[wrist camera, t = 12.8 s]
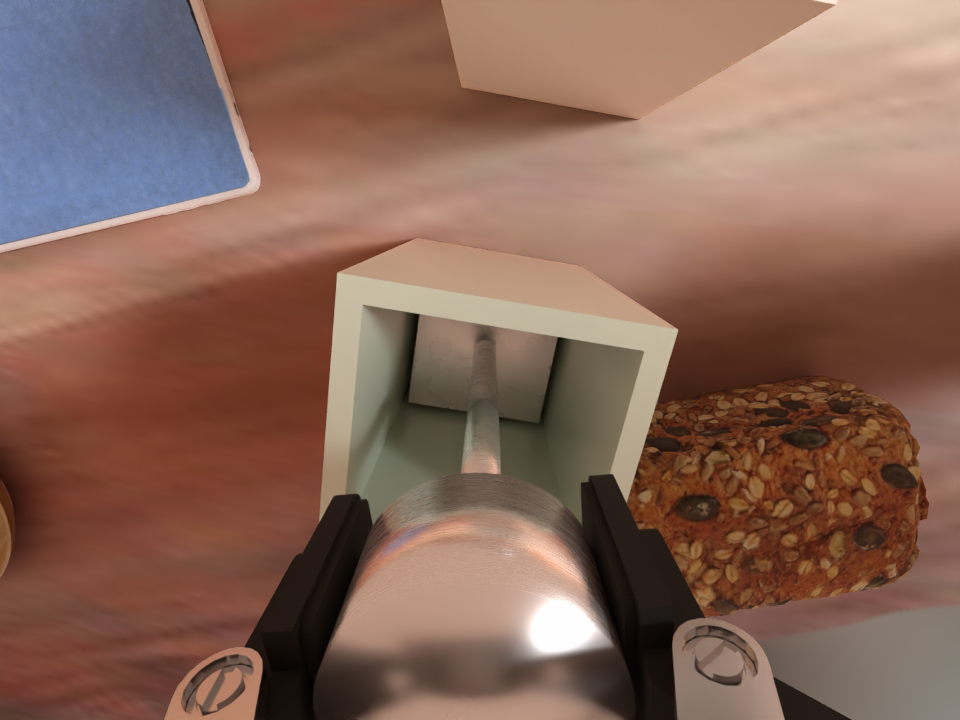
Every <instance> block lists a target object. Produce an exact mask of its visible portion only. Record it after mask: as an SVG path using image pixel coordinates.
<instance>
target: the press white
mask: <svg viewBox="0 0 960 720" xmlns="http://www.w3.org/2000/svg"><path fill="white" fill-rule="evenodd" d="M441 2H442V6H443V10H444V15H445V19H446V23H447V28H448V32H449V36H450V41H451V45H452V49H453V53H454V58H455V62H456V66H457V71H458V75H459V79H460V83H461V87H462V88H468V89H473V90H479V91H485V92H490V93H496V94H501V95H507V96H512V97H518V98H523V99H529V100H534V101H540V102H545V103H551V104H556V105H562V106H567V107H573V108H579V109H584V110H590V111H595V112H601V113H606V114H612V115H617V116H623V117H628V118H634V119H640V118H642V117H644V116H646V115H647V114H649V113H651V112H652V111H654V110H656V109H658V108H659V107H661V106H663V105H664V104H666V103H668V102H670V101H671V100H673V99H675V98H677V97H678V96H680V95H682V94H683V93H685V92H687V91H689V90H690V89H692V88H694V87H695V86H697V85H699V84H701V83H702V82H704V81H706V80H707V79H709V78H711V77H713V76H714V75H716V74H718V73H719V72H721V71H723V70H725V69H726V68H728V67H730V66H732V65H733V64H735V63H737V62H738V61H740V60H742V59H744V58H745V57H747V56H749V55H750V54H752V53H754V52H756V51H757V50H759V49H761V48H762V47H764V46H766V45H768V44H769V43H771V42H773V41H774V40H776V39H778V38H780V37H781V36H783V35H785V34H787V33H788V32H790V31H792V30H793V29H795V28H797V27H799V26H800V25H802V24H804V23H805V22H807V21H809V20H811V19H812V18H814V17H816V16H817V15H819V14H821V13H823V12H824V11H826V10H828V9H829V8H831V7H833V6H835V5H836V3H837V0H441Z"/></svg>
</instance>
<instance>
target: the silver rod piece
mask: <svg viewBox="0 0 960 720" xmlns="http://www.w3.org/2000/svg"><path fill="white" fill-rule="evenodd" d="M557 338H558V337H556V336H550V335H544V334H538V333H532V332H526V331H519V330H513V329H507V328H501V327H495V326H489V325H483V324H477V323H471V322H465V321H459V320H453V319H447V318H441V317H435V316H429V315H422V314H420V315H419V323H418V331H417V339H416V346H415V354H414V362H413V370H412V377H411V385H410V393H409V401H408V402H410V403H416V404H422V405H429V406H435V407H441V408H448V409H454V410H460V411H466V412H467V419H466V428H465V437H464V447H463V456H462V465H461V474H454V475H448V476H444V477H440V478H436V479H433V480H430V481H428V482H425V483H423V484H420V485H418V486H416V487H414V488H413V489H411V490H409V491H407V492H405V493H404V494H403V495H401V496H400V497H399V498H397V499H396V500H394V501H393V502H392V503H391V504H390V505H389V506H388V507H387V508H386V509H385V510H384V511H383V512H382V514H381V515H380V516H379V518H378V519H377V520H376V521H375V523H374V525H373V527H372V529H371V530H370V532H369V534H368V537H367V540H366V543H365V545H364V548H363V551H362V553H361V556H360V559H359V562H358V564H357V567H356V570H355V572H354V575H353V578H352V581H351V583H350V586H349V589H348V591H347V594H346V597H345V600H344V602H343V605H342V608H341V610H340V613H339V616H338V619H337V621H336V624H335V627H334V630H333V632H332V635H331V638H330V640H329V643H328V646H327V649H326V651H325V654H324V657H323V659H322V662H321V665H320V668H319V670H318V673H317V676H316V679H315V685H314V691H313V710H314V716H315V720H635V711H636V703H635V693H634V688H633V684H632V681H631V677H630V674H629V670H628V667H627V664H626V661H625V657H624V654H623V651H622V647H621V644H620V641H619V637H618V634H617V631H616V627H615V624H614V621H613V617H612V614H611V611H610V607H609V604H608V601H607V597H606V594H605V591H604V587H603V584H602V581H601V577H600V574H599V571H598V567H597V564H596V561H595V557H594V554H593V551H592V547H591V544H590V541H589V539H588V537H587V535H586V532H585V530H584V529H583V527H582V525H581V524H580V522H579V521H578V519H577V518H576V517H575V516H574V515H573V513H572V512H571V511H570V510H569V509H568V508H567V507H566V506H565V505H564V504H563V503H561V502H560V501H559V500H558V499H557V498H555V497H554V496H552V495H551V494H549V493H548V492H546V491H545V490H543V489H541V488H539V487H537V486H535V485H533V484H531V483H528V482H525V481H522V480H520V479H517V478H514V477H509V476H504V475H501V458H500V436H499V417H504V418H511V419H517V420H523V421H529V422H536V423H539V420H540V415H541V411H542V406H543V402H544V397H545V393H546V388H547V384H548V379H549V374H550V370H551V365H552V361H553V356H554V352H555V347H556V343H557Z"/></svg>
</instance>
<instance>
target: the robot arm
mask: <svg viewBox="0 0 960 720" xmlns="http://www.w3.org/2000/svg"><path fill="white" fill-rule="evenodd" d="M581 511H582V527H583V529H584V530H585V532H586V535H587V537H588V539H589V541H590V544H591V547H592V551H593V554H594V557H595V561H596V564H597V567H598V571H599V574H600V577H601V581H602V584H603V587H604V591H605V594H606V597H607V601H608V604H609V607H610V611H611V614H612V617H613V621H614V624H615V627H616V631H617V634H618V637H619V641H620V644H621V647H622V651H623V654H624V657H625V661H626V664H627V667H628V670H629V674H630V677H631V681H632V684H633V688H634V693H635V703H636V711H635V720H851V719H849V718H847V717H846V716H844V715H842V714H840V713H838V712H836V711H835V710H833V709H831V708H829V707H827V706H826V705H824V704H822V703H820V702H818V701H817V700H815V699H813V698H811V697H809V696H807V695H806V694H804V693H802V692H800V691H798V690H796V689H794V688H793V687H791V686H789V685H787V684H786V683H784V682H782V681H780V680H778V679H777V678H775V677H773V676H772V672H771V669H770V665H769V662H768V659H767V657H766V655H765V653H764V651H763V649H762V648H761V647H760V646H759V644H758V643H757V642H756V641H755V640H754V639H753V638H752V637H751V636H750V635H748V634H747V633H746V632H744V631H743V630H742V629H740V628H738V627H736V626H734V625H732V624H730V623H728V622H724V621H720V620H717V619H711V618H705V616H704V614H703V612H702V610H701V609H700V607H699V605H698V603H697V601H696V599H695V597H694V595H693V593H692V591H691V590H690V588H689V586H688V584H687V582H686V580H685V578H684V576H683V574H682V572H681V571H680V569H679V567H678V565H677V563H676V561H675V559H674V557H673V555H672V553H671V551H670V550H669V548H668V546H667V544H666V542H665V540H664V538H663V536H662V534H661V533H660V531H659V530H658V529H656V528H651V529H638V527H637V525H636V522H635V520H634V518H633V516H632V514H631V512H630V509H629V507H628V505H627V503H626V501H625V499H624V497H623V494H622V492H621V490H620V488H619V486H618V484H617V481H616V479H615V477H614V475H613V474H604V475H591V476H589V478H588V482H581ZM372 527H373V523H372V518H371V513H370V508H369V503H368V501H367V499H361V497H360V495H359V494H345V495H335V496H334V497H333V498H332V500H331V502H330V503H329V505H328V507H327V509H326V511H325V513H324V515H323V517H322V518H321V520H320V522H319V524H318V526H317V528H316V530H315V531H314V533H313V535H312V537H311V539H310V541H309V543H308V545H307V546H306V548H305V550H304V552H303V553H302V554H298V555H296V556H295V558H294V559H293V561H292V562H291V564H290V566H289V568H288V570H287V571H286V573H285V575H284V577H283V579H282V580H281V582H280V584H279V586H278V588H277V589H276V591H275V593H274V595H273V597H272V598H271V600H270V602H269V604H268V606H267V607H266V609H265V611H264V613H263V615H262V616H261V618H260V620H259V622H258V624H257V626H256V627H255V629H254V631H253V633H252V635H251V636H250V638H249V640H248V642H247V644H246V645H245V647H237V648H231V649H226V650H224V651H221V652H219V653H216V654H214V655H212V656H211V657H209V658H207V659H206V660H204V661H202V662H201V663H200V664H198V665H197V666H196V667H195V668H194V669H193V670H191V671H190V672H189V673H188V674H187V675H186V677H185V678H184V679H183V680H182V681H181V683H180V684H179V685H178V687H177V689H176V691H175V693H174V695H173V697H172V700H171V703H170V705H169V708H168V711H167V714H166V717H165V719H164V720H315V716H314V710H313V691H314V685H315V679H316V676H317V673H318V670H319V668H320V665H321V662H322V659H323V657H324V654H325V651H326V649H327V646H328V643H329V640H330V638H331V635H332V632H333V630H334V627H335V624H336V621H337V619H338V616H339V613H340V610H341V608H342V605H343V602H344V600H345V597H346V594H347V591H348V589H349V586H350V583H351V581H352V578H353V575H354V572H355V570H356V567H357V564H358V562H359V559H360V556H361V553H362V551H363V548H364V545H365V543H366V540H367V537H368V534H369V532H370V530H371V529H372Z"/></svg>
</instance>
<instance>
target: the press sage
mask: <svg viewBox="0 0 960 720" xmlns="http://www.w3.org/2000/svg"><path fill="white" fill-rule="evenodd" d="M420 314H422V315H429V316H435V317H441V318H447V319H453V320H459V321H465V322H471V323H477V324H483V325H489V326H495V327H501V328H507V329H513V330H519V331H526V332H532V333H538V334H544V335H550V336H556V337H558V338H557V343H556V347H555V352H554V356H553V361H552V365H551V370H550V374H549V379H548V384H547V388H546V393H545V397H544V402H543V406H542V411H541V415H540V420H539V423H536V422H529V421H523V420H517V419H511V418H504V417H499V436H500V458H501V475H504V476H509V477H514V478H517V479H520V480H522V481H525V482H528V483H531V484H533V485H535V486H537V487H539V488H541V489H543V490H545V491H546V492H548V493H549V494H551V495H552V496H554V497H555V498H557V499H558V500H559V501H560V502H561V503H563V504H564V505H565V506H566V507H567V508H568V509H569V510H570V511H571V512H572V513H573V515H574V516H575V517H576V518H577V519H578V521H579V522H580V524H581V525H582V511H581V482H588V478H589V476H591V475H604V474H613V475H614V477H615V479H616V481H617V484H618V486H619V488H620V490H621V492H622V494H623V497H624V499H625V501H626V503H627V500H628V496H629V493H630V490H631V486H632V483H633V480H634V476H635V473H636V470H637V466H638V463H639V460H640V456H641V453H642V450H643V446H644V443H645V440H646V436H647V433H648V430H649V426H650V423H651V420H652V416H653V413H654V410H655V406H656V403H657V400H658V396H659V393H660V390H661V386H662V383H663V380H664V376H665V373H666V370H667V366H668V363H669V360H670V356H671V353H672V350H673V346H674V343H675V340H676V336H677V333H678V329H677V328H675V327H674V326H672V325H671V324H669V323H668V322H666V321H664V320H663V319H661V318H660V317H658V316H657V315H655V314H654V313H652V312H651V311H649V310H648V309H646V308H644V307H643V306H641V305H640V304H638V303H637V302H635V301H634V300H632V299H631V298H629V297H628V296H626V295H624V294H623V293H621V292H620V291H618V290H617V289H615V288H614V287H612V286H611V285H609V284H608V283H606V282H605V281H603V280H601V279H600V278H598V277H597V276H595V275H594V274H592V273H591V272H589V271H588V270H586V269H585V268H583V267H581V266H580V265H574V264H568V263H562V262H556V261H550V260H544V259H538V258H533V257H527V256H521V255H515V254H509V253H503V252H497V251H491V250H486V249H480V248H474V247H468V246H462V245H456V244H450V243H444V242H438V241H433V240H427V239H421V238H416V239H413V240H411V241H409V242H407V243H404V244H402V245H400V246H397V247H395V248H393V249H391V250H388V251H386V252H384V253H381V254H379V255H377V256H374V257H372V258H370V259H368V260H365V261H363V262H361V263H358V264H356V265H354V266H352V267H349V268H347V269H345V270H342V271H340V272H338V273H337V283H336V297H335V310H334V324H333V338H332V351H331V365H330V379H329V392H328V406H327V420H326V433H325V447H324V461H323V474H322V488H321V501H320V515H319V522H320V520H321V518H322V517H323V515H324V513H325V511H326V509H327V507H328V505H329V503H330V502H331V500H332V498H333V497H334V496H335V495H345V494H359V495H360V497H361V499H367V501H368V503H369V508H370V513H371V518H372V523H373V525H374V523H375V521H376V520H377V519H378V518H379V516H380V515H381V514H382V512H383V511H384V510H385V509H386V508H387V507H388V506H389V505H390V504H391V503H392V502H393V501H394V500H396V499H397V498H399V497H400V496H401V495H403V494H404V493H405V492H407V491H409V490H411V489H413V488H414V487H416V486H418V485H420V484H423V483H425V482H428V481H430V480H433V479H436V478H440V477H444V476H448V475H454V474H461V465H462V456H463V447H464V437H465V428H466V419H467V412H466V411H460V410H454V409H448V408H441V407H435V406H429V405H422V404H416V403H410V402H408V401H409V393H410V385H411V377H412V370H413V362H414V354H415V346H416V339H417V331H418V323H419V315H420Z"/></svg>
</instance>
